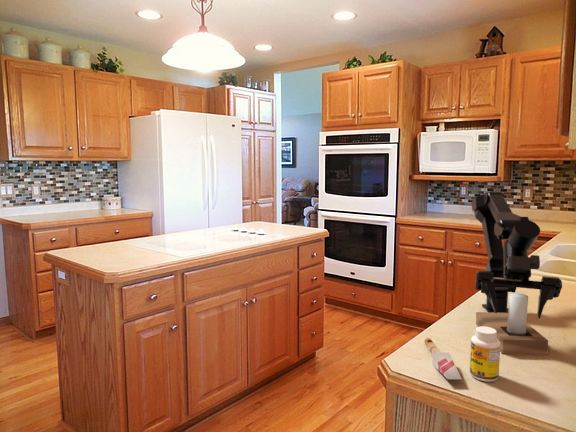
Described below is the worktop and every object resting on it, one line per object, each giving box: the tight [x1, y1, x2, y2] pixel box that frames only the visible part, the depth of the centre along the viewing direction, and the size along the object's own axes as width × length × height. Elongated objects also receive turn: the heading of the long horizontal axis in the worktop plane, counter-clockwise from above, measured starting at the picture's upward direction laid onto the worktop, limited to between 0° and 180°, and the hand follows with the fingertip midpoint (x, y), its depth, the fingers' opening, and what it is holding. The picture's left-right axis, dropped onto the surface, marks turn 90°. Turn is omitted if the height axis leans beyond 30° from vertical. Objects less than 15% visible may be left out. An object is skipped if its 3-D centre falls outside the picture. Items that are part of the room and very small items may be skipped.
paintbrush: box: [423, 337, 462, 380], centre depth 97 cm, size 4×3×20 cm
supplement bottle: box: [469, 326, 501, 383], centre depth 90 cm, size 6×6×10 cm
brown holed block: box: [475, 311, 549, 356], centre depth 109 cm, size 18×10×4 cm, turn 175°
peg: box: [507, 292, 529, 336], centre depth 105 cm, size 4×4×12 cm
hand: (517, 315), depth 104 cm, fingers open, 9 cm apart
